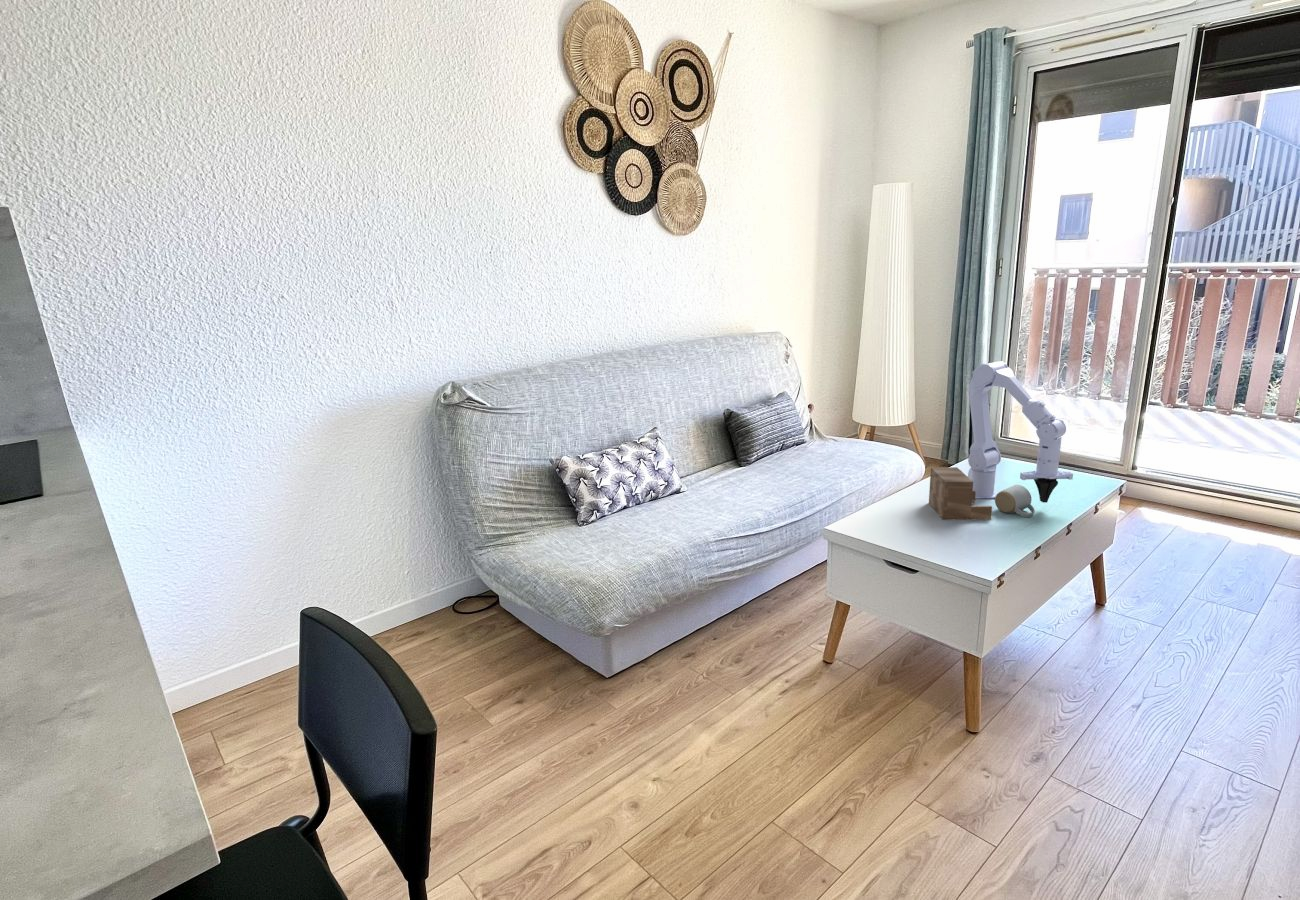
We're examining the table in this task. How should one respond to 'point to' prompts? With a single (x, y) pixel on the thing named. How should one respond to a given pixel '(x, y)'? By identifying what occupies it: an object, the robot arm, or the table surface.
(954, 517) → the stepped wooden block
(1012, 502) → the ceramic mug
